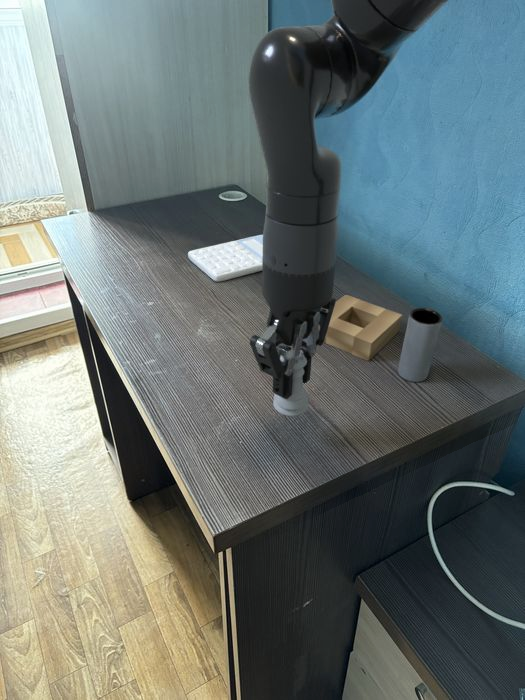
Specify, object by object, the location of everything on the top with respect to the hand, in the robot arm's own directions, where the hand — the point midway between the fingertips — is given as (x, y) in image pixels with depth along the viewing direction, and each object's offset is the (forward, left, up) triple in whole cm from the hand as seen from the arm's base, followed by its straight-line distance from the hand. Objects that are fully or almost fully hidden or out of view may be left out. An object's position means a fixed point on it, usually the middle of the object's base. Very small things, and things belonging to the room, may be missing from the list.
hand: (291, 386), depth 63 cm
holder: (+5, -27, -8) cm, 29 cm away
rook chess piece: (0, 0, -3) cm, 3 cm away
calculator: (+38, -37, -9) cm, 54 cm away
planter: (-7, -23, -9) cm, 26 cm away
